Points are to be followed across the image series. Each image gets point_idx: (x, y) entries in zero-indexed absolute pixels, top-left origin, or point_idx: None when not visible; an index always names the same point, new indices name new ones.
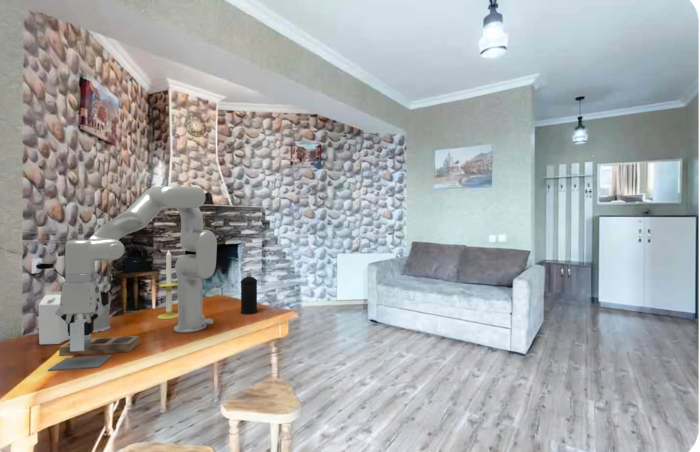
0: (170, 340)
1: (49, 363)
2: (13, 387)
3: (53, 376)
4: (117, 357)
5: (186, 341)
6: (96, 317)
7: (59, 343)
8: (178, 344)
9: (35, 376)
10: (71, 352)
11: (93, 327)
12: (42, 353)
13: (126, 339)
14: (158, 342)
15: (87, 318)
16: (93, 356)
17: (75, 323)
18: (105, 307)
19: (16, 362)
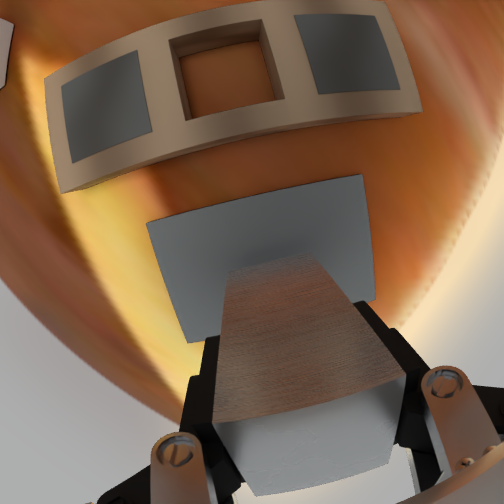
0: (454, 19)
1: (119, 272)
2: None
3: None
4: (388, 186)
5: (499, 50)
6: (489, 400)
7: (4, 84)
8: (498, 72)
9: (189, 376)
10: (125, 172)
11: (404, 339)
12: (12, 177)
13: (368, 48)
14: (432, 25)
15: (425, 472)
16: (275, 193)
17: (307, 482)
18: None
19: (13, 268)
